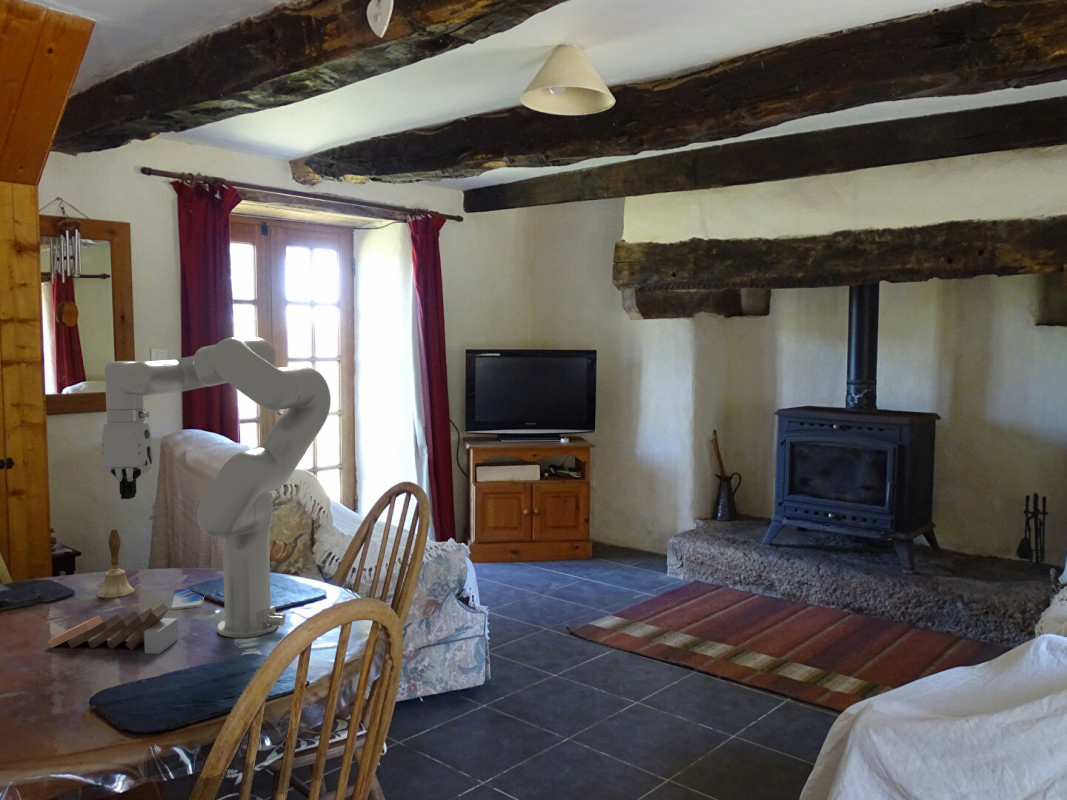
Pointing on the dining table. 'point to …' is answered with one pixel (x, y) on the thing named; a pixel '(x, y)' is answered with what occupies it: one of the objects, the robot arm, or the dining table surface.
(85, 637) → the domino
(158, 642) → the block
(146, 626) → the domino
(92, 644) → the domino
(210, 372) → the robot arm
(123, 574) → the hand bell
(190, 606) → the smartphone
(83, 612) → the dining table surface
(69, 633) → the domino
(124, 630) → the domino
